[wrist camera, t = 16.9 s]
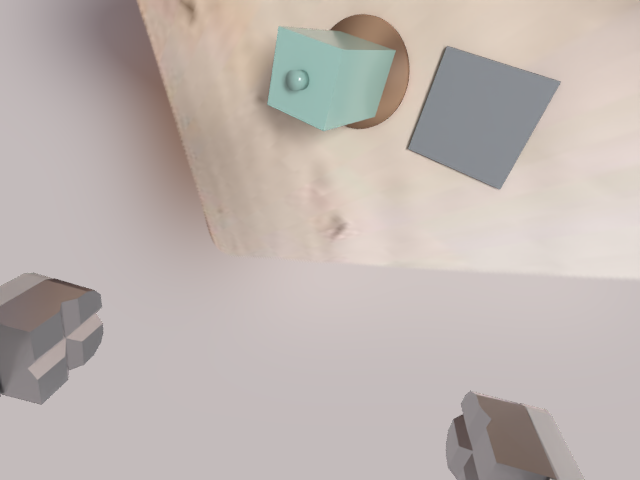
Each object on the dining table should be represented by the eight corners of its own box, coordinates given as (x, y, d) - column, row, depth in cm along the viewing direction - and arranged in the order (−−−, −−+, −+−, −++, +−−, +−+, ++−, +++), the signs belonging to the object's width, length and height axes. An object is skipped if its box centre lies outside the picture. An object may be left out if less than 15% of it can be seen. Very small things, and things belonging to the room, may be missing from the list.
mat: (409, 148, 40) (408, 148, 40) (448, 46, 34) (447, 46, 34) (500, 188, 36) (499, 189, 36) (561, 81, 31) (560, 82, 30)
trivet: (301, 67, 43) (298, 67, 43) (369, -13, 36) (366, -14, 36) (352, 147, 44) (350, 147, 43) (430, 83, 36) (428, 84, 36)
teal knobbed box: (325, 95, 42) (258, 105, 34) (340, 31, 39) (269, 25, 30) (374, 116, 40) (315, 133, 32) (395, 50, 36) (335, 49, 28)
